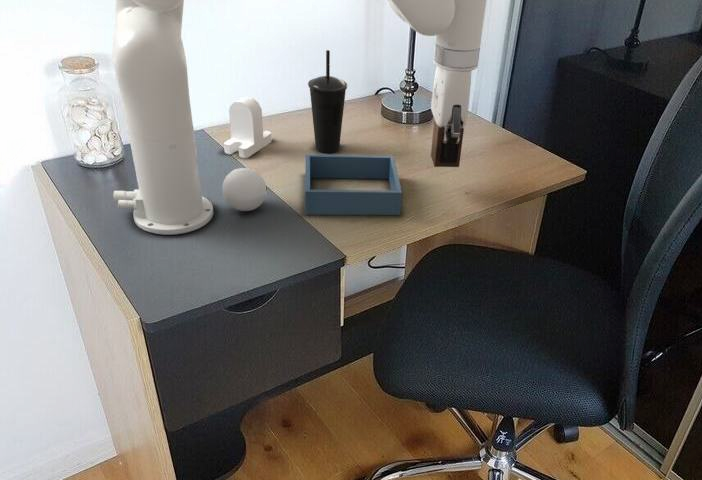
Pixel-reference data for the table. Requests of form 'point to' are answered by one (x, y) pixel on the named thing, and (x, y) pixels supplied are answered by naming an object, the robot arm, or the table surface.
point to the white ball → (244, 189)
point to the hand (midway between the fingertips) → (445, 154)
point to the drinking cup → (327, 109)
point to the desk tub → (352, 199)
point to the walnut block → (437, 142)
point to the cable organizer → (246, 128)
